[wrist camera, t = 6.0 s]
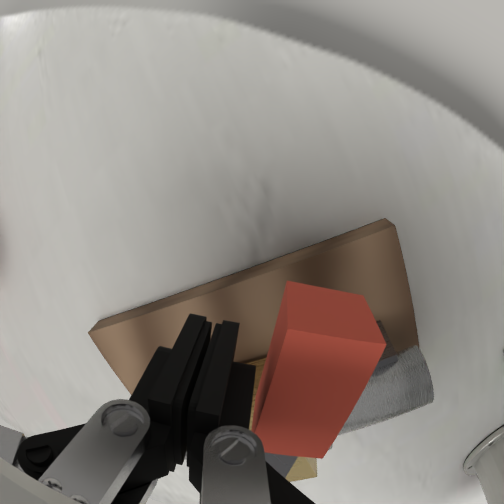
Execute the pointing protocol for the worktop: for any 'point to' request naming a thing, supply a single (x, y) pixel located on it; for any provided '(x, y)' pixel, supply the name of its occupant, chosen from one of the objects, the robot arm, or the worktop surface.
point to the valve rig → (266, 312)
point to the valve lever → (313, 372)
